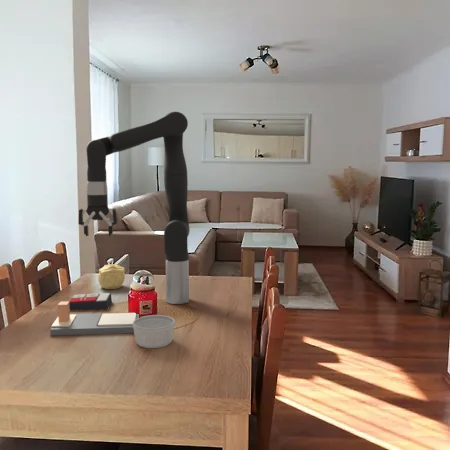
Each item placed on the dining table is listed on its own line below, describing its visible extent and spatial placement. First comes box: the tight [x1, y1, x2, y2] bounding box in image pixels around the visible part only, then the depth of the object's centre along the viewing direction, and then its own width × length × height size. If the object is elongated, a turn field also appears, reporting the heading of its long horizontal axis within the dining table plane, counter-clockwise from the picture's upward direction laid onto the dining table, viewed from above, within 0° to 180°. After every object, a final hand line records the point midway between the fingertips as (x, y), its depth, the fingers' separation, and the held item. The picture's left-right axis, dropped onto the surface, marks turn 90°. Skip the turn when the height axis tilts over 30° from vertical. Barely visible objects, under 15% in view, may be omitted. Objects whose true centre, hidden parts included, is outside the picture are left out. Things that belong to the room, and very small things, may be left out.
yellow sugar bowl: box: [97, 263, 126, 290], centre depth 227 cm, size 12×12×11 cm
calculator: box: [69, 292, 113, 311], centre depth 200 cm, size 11×4×15 cm
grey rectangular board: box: [49, 312, 139, 336], centre depth 176 cm, size 28×16×2 cm, turn 96°
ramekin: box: [133, 314, 176, 349], centre depth 162 cm, size 13×13×7 cm
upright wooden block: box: [50, 300, 78, 328], centre depth 175 cm, size 6×12×6 cm, turn 6°
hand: (98, 235), depth 195 cm, fingers open, 8 cm apart
